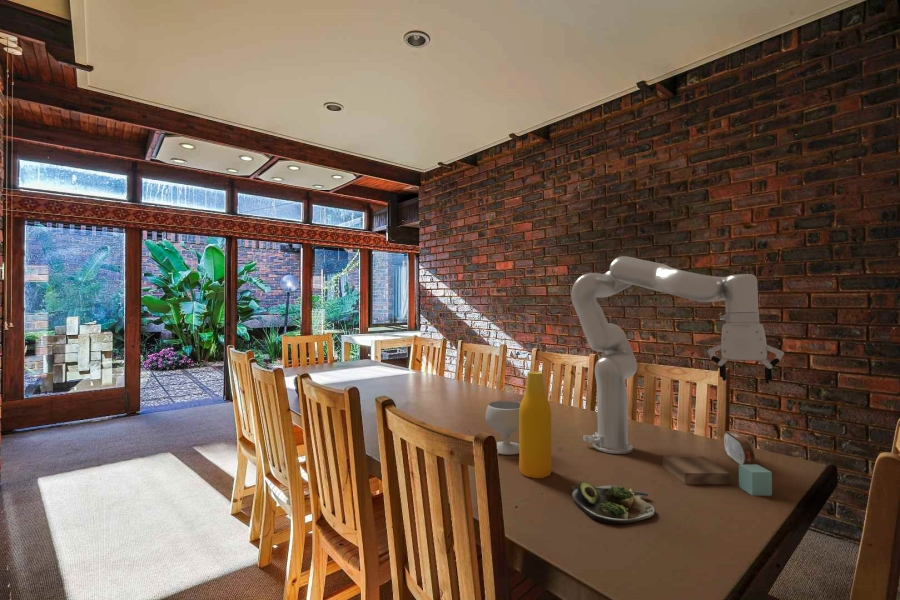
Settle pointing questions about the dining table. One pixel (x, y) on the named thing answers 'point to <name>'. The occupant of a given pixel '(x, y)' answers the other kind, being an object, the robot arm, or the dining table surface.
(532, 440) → the beer bottle
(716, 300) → the robot arm
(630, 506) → the salad plate
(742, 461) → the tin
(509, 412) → the chalice
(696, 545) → the dining table surface
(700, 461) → the walnut base
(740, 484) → the teal block
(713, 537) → the dining table surface
